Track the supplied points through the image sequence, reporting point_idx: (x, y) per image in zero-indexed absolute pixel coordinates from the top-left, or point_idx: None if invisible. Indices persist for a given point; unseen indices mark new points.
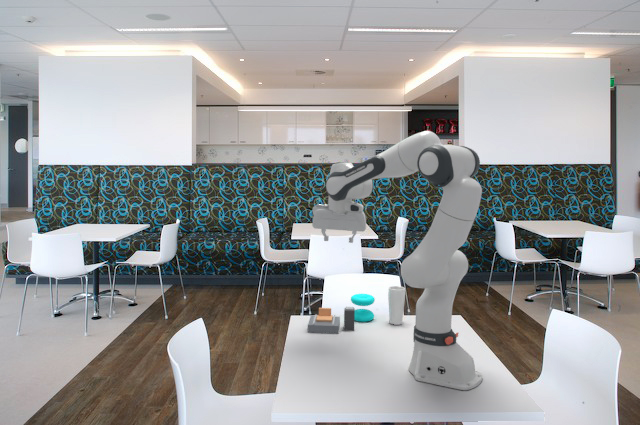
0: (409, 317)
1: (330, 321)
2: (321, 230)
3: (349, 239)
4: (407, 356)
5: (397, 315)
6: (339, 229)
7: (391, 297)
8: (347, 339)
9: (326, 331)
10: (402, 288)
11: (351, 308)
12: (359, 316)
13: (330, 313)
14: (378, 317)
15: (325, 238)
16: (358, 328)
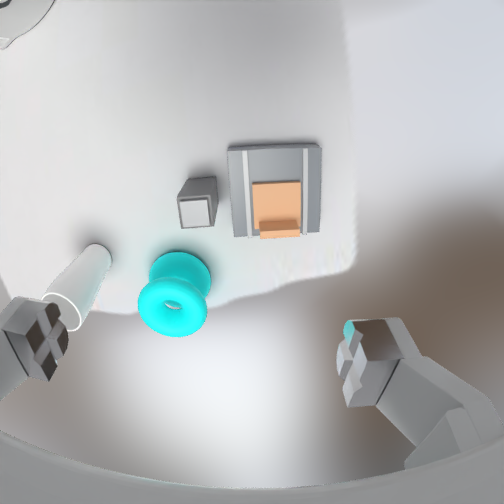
0: None
1: (256, 183)
2: (497, 414)
3: (29, 321)
4: (55, 44)
5: (82, 254)
6: (101, 478)
7: (76, 282)
8: (197, 106)
9: (263, 146)
10: None
11: (187, 209)
12: (181, 258)
13: (261, 225)
14: None
15: (391, 337)
16: None
